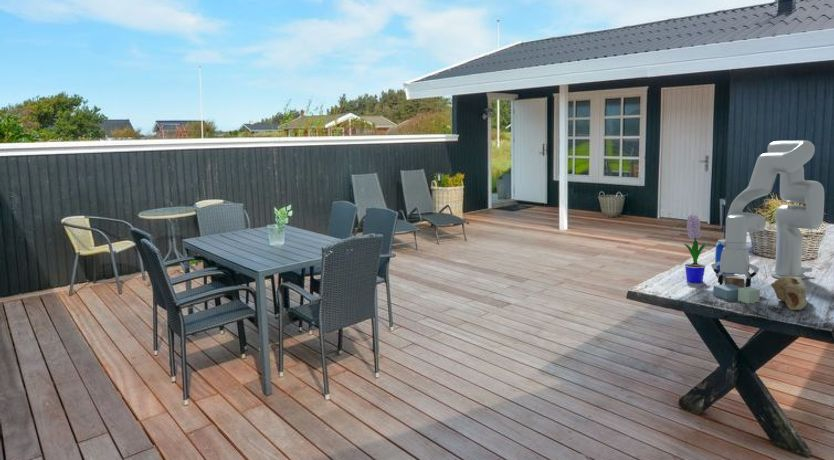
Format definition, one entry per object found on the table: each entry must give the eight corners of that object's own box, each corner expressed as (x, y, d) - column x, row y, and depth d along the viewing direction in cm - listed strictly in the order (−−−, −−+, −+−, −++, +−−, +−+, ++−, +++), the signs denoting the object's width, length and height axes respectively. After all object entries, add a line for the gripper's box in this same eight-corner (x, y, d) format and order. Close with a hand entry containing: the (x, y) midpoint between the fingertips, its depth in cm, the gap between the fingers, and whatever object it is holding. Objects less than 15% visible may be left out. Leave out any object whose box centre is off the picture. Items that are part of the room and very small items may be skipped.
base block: (731, 293, 228) (731, 283, 228) (745, 298, 220) (745, 288, 220) (713, 295, 227) (713, 285, 227) (726, 300, 219) (727, 290, 219)
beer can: (733, 273, 258) (735, 238, 255) (737, 277, 250) (739, 242, 248) (713, 272, 261) (714, 238, 258) (716, 277, 253) (717, 241, 250)
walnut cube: (736, 287, 235) (736, 276, 234) (743, 290, 230) (743, 278, 229) (724, 288, 235) (724, 276, 234) (731, 291, 230) (731, 279, 229)
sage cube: (748, 299, 219) (748, 286, 218) (759, 302, 214) (759, 289, 213) (737, 300, 218) (738, 288, 217) (748, 304, 213) (749, 291, 212)
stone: (824, 312, 200) (826, 284, 198) (787, 311, 202) (788, 284, 201) (802, 298, 216) (804, 273, 214) (768, 298, 218) (769, 273, 217)
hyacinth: (712, 283, 242) (714, 214, 237) (686, 283, 244) (688, 215, 240) (706, 278, 251) (708, 212, 246) (681, 278, 253) (683, 212, 248)
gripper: (710, 245, 232) (708, 285, 235) (758, 248, 221) (756, 291, 224) (714, 242, 238) (713, 281, 241) (761, 245, 227) (759, 286, 230)
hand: (734, 286), depth 232 cm, fingers open, 9 cm apart
